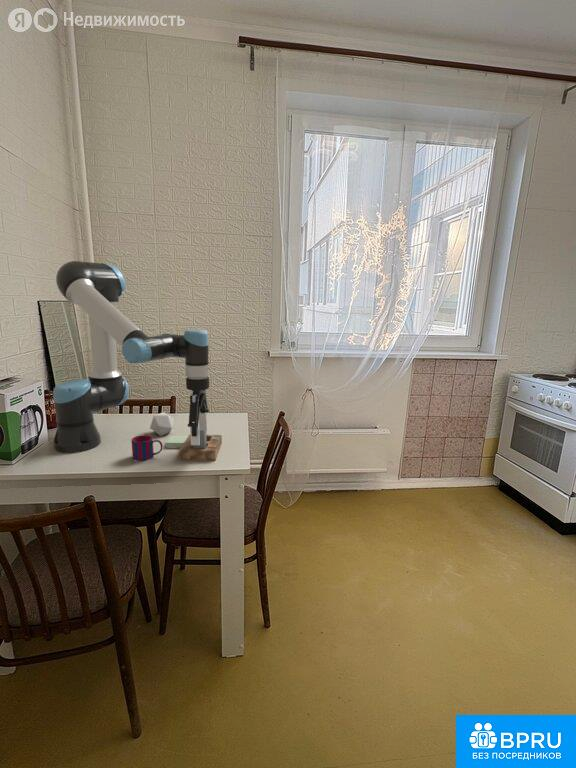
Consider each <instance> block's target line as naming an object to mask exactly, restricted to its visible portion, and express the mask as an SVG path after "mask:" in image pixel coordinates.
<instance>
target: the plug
mask: <svg viewBox="0 0 576 768" xmlns="http://www.w3.org/2000/svg"><path fill="white" fill-rule="evenodd" d="M198 426H199V425H198ZM206 435H207V431H206V427H201V426H199V436H200V445H193V449H206V448H207V436H206Z"/></svg>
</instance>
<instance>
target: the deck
mask: <svg viewBox="0 0 576 768" xmlns="http://www.w3.org/2000/svg"><path fill="white" fill-rule="evenodd" d="M188 436H189V435H170V436H169V438H168V439H167V440H166V441H165V448H166V449H181V447H182V446H183V444H184V442H185V441H186V439H187V438H188Z"/></svg>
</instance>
